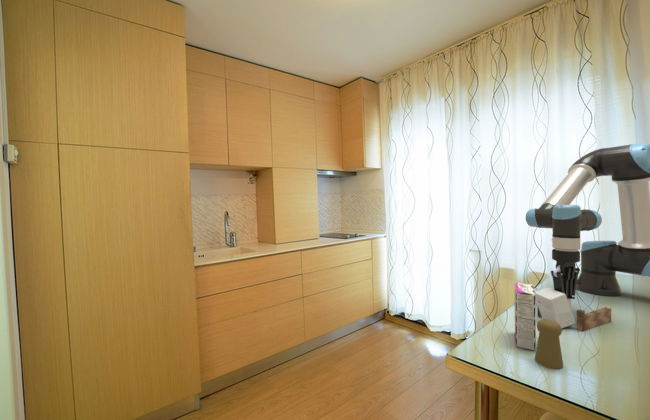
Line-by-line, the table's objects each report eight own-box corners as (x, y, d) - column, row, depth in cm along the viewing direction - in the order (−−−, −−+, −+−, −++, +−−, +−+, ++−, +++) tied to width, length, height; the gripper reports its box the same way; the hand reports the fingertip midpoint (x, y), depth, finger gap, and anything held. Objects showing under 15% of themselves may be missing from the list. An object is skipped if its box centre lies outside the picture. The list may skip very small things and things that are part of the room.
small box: (576, 323, 96) (566, 293, 96) (560, 329, 96) (550, 299, 96) (556, 314, 104) (547, 286, 104) (542, 319, 104) (532, 292, 104)
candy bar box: (514, 332, 95) (514, 282, 94) (533, 336, 92) (533, 284, 92) (514, 347, 85) (515, 291, 85) (536, 351, 83) (536, 294, 82)
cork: (529, 357, 80) (529, 317, 79) (549, 355, 80) (550, 316, 80) (547, 370, 74) (548, 326, 73) (569, 368, 74) (570, 325, 74)
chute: (566, 308, 114) (566, 292, 114) (611, 321, 102) (611, 303, 102) (537, 316, 107) (537, 299, 107) (582, 331, 94) (582, 311, 94)
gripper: (564, 246, 107) (563, 310, 108) (542, 249, 102) (541, 316, 103) (589, 249, 101) (588, 317, 101) (567, 252, 95) (566, 324, 96)
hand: (564, 316), depth 102 cm, fingers closed
